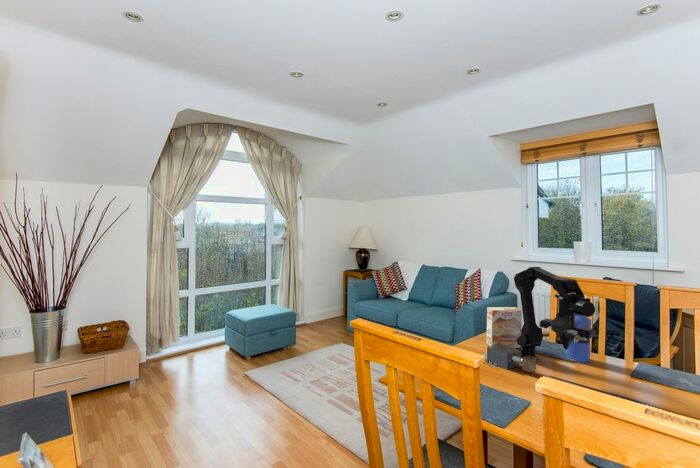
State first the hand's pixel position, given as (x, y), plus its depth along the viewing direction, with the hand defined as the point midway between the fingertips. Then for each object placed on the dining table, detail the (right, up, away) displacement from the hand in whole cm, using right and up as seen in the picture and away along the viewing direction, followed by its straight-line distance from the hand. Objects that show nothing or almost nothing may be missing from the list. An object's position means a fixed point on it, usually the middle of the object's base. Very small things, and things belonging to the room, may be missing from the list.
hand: (566, 349), depth 140 cm
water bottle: (+18, -12, +20) cm, 30 cm away
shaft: (-16, -10, +12) cm, 22 cm away
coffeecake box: (-9, -11, +38) cm, 40 cm away
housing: (-18, -12, +16) cm, 27 cm away
